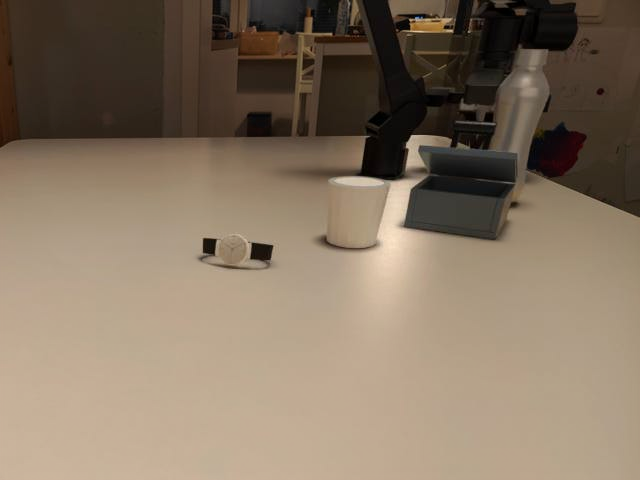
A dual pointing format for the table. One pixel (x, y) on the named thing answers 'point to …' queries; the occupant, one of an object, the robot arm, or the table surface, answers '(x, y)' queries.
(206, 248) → the watch
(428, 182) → the grey box
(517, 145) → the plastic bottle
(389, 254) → the table surface
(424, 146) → the box lid
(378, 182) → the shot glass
